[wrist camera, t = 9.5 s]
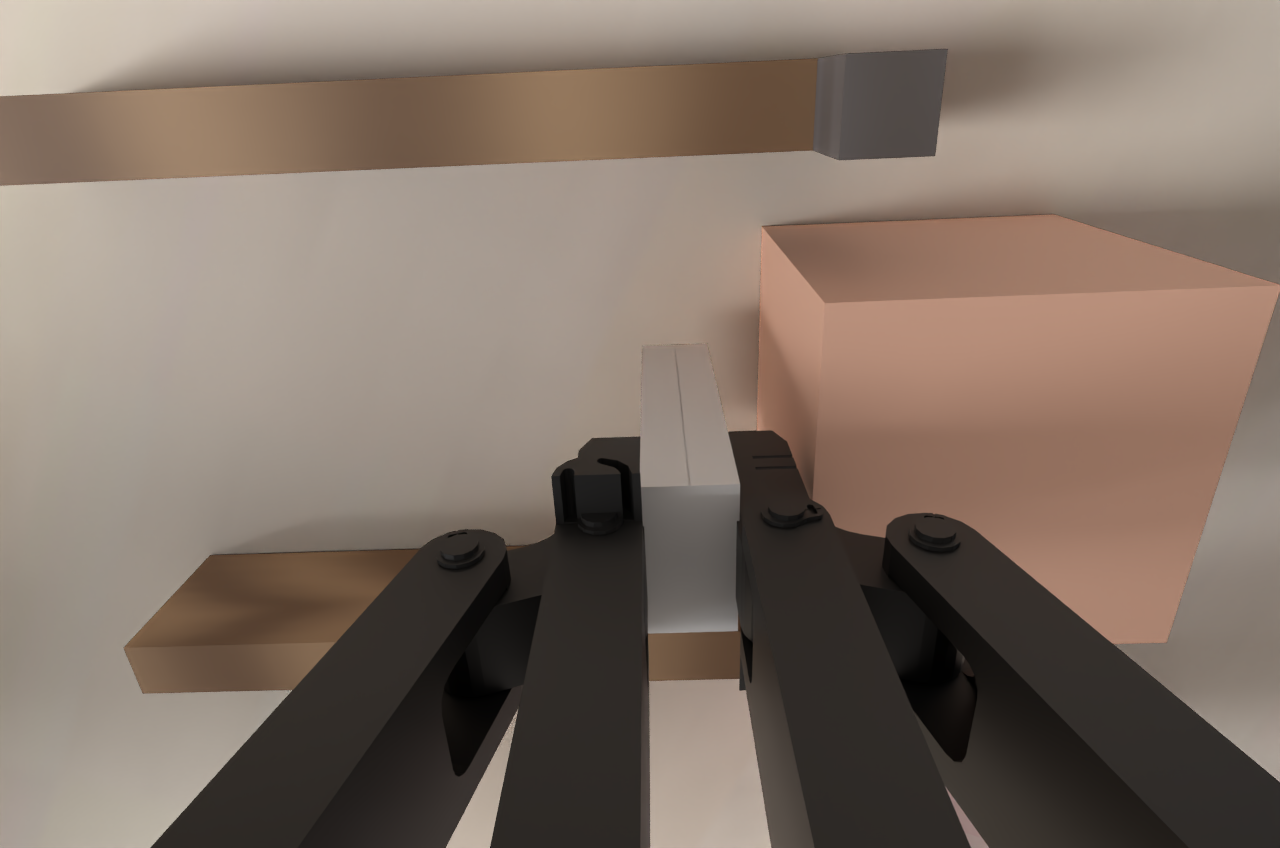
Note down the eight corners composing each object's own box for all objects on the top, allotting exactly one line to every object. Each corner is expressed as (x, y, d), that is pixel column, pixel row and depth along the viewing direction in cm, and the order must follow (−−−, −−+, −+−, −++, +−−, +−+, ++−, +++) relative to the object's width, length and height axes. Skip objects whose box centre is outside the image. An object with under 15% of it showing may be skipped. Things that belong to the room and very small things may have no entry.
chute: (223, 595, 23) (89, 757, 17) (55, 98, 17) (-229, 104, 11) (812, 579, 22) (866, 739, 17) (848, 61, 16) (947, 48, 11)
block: (755, 479, 21) (802, 652, 14) (761, 226, 18) (824, 303, 12) (1006, 471, 21) (1167, 642, 14) (1053, 214, 18) (1281, 285, 11)
